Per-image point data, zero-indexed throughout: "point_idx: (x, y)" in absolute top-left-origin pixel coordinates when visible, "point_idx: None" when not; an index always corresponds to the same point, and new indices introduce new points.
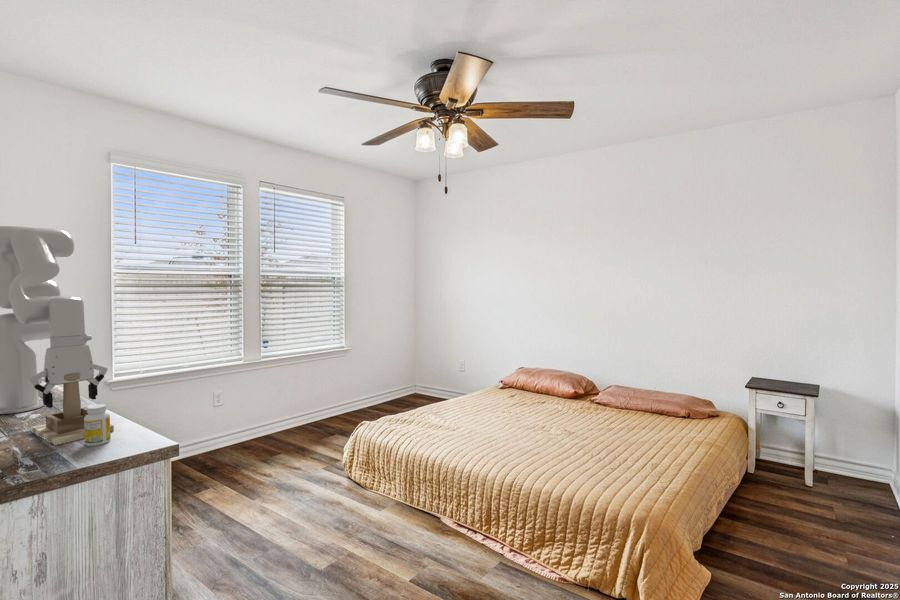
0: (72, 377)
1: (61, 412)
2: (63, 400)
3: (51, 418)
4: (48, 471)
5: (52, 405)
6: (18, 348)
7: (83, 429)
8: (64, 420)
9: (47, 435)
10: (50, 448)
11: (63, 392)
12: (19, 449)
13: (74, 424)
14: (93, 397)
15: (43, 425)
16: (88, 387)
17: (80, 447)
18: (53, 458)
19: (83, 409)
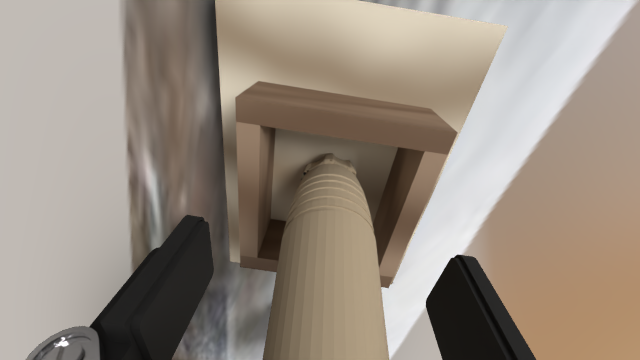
0: None
1: (317, 123)
2: (276, 278)
3: (238, 196)
4: (190, 349)
5: (207, 282)
6: None
7: None
8: (262, 269)
9: (228, 206)
10: (222, 257)
11: (266, 341)
12: (158, 195)
13: None
14: (432, 314)
15: (264, 9)
16: (497, 346)
17: (270, 303)
18: (210, 313)
19: (417, 168)
